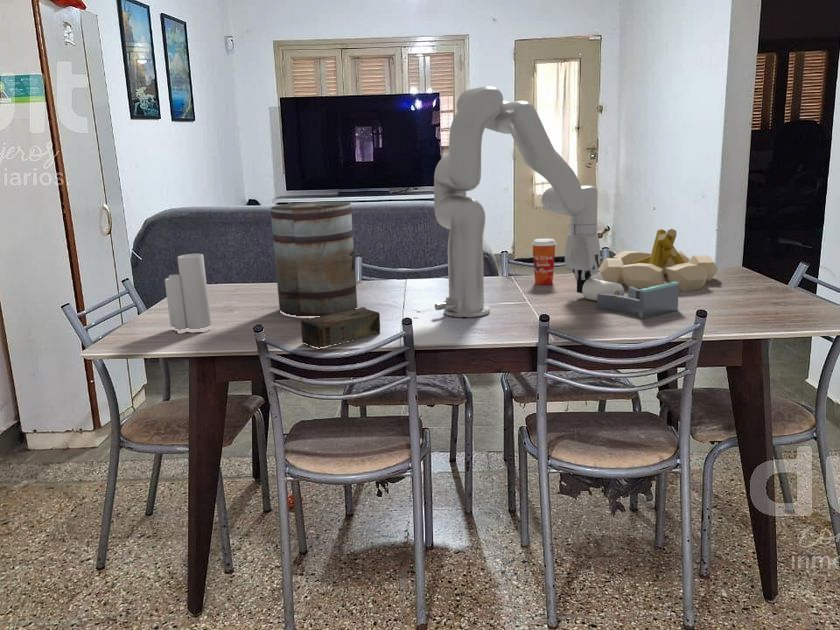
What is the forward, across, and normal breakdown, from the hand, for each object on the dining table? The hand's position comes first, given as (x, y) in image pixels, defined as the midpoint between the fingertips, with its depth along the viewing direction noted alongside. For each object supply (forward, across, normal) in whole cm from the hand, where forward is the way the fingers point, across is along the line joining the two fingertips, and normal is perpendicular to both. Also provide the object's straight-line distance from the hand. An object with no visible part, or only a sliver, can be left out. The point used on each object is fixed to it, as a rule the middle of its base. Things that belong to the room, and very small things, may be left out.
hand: (582, 292), depth 210 cm
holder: (+1, +20, 0) cm, 20 cm away
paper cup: (+2, -22, +6) cm, 23 cm away
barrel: (+2, -42, -65) cm, 77 cm away
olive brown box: (+2, -9, -75) cm, 75 cm away
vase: (+2, -44, -102) cm, 111 cm away
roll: (+2, +8, 0) cm, 8 cm away
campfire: (+2, 0, +34) cm, 34 cm away
